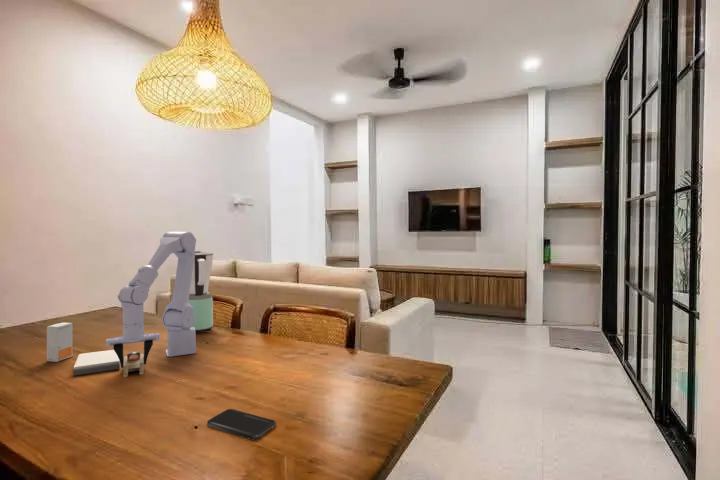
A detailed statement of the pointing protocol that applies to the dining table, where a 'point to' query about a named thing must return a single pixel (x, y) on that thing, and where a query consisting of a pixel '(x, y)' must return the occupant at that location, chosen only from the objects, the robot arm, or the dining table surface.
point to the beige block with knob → (133, 365)
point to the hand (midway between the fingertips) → (133, 365)
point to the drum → (133, 356)
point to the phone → (241, 423)
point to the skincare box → (59, 341)
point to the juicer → (201, 292)
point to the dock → (96, 362)
